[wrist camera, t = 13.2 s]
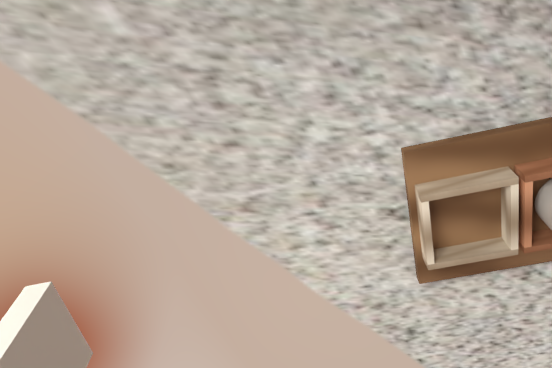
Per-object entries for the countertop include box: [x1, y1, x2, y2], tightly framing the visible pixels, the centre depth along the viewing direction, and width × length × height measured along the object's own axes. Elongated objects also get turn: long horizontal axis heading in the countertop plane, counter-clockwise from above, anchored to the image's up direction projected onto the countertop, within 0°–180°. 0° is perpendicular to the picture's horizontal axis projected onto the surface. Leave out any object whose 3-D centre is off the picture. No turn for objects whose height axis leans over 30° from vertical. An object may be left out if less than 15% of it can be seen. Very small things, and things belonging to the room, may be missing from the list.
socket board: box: [401, 117, 552, 284], centre depth 41 cm, size 14×17×3 cm
